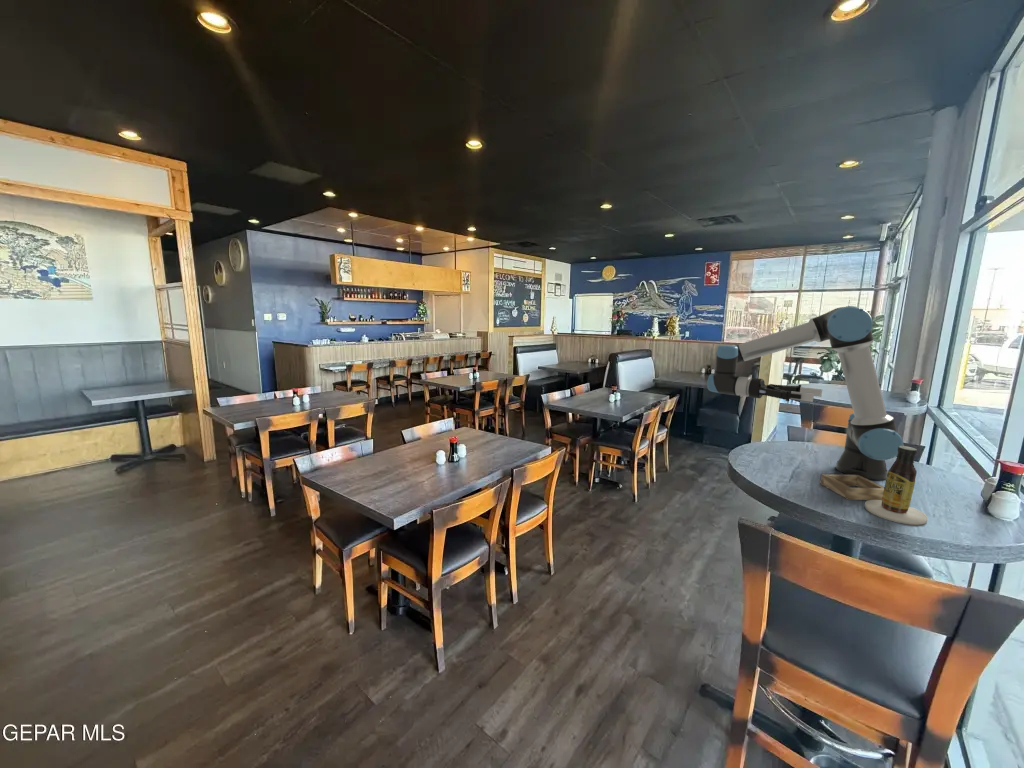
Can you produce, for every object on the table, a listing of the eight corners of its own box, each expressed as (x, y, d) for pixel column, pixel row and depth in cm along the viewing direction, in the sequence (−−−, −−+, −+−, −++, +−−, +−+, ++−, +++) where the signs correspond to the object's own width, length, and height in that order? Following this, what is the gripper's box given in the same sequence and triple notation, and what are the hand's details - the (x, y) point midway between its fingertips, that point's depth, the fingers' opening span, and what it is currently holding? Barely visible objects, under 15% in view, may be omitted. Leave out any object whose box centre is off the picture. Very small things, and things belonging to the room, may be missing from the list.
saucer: (897, 503, 132) (897, 500, 132) (941, 525, 119) (941, 521, 118) (853, 502, 133) (853, 499, 132) (891, 524, 119) (892, 520, 119)
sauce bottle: (875, 505, 128) (885, 444, 125) (893, 504, 129) (903, 443, 126) (896, 515, 122) (907, 450, 119) (915, 514, 123) (927, 450, 119)
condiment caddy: (856, 484, 148) (858, 474, 147) (888, 500, 135) (890, 490, 134) (820, 483, 148) (821, 474, 147) (848, 499, 135) (850, 489, 134)
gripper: (759, 393, 168) (823, 401, 153) (738, 401, 151) (808, 411, 136) (761, 374, 167) (826, 381, 152) (740, 381, 150) (810, 389, 135)
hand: (817, 395), depth 144 cm, fingers open, 13 cm apart
